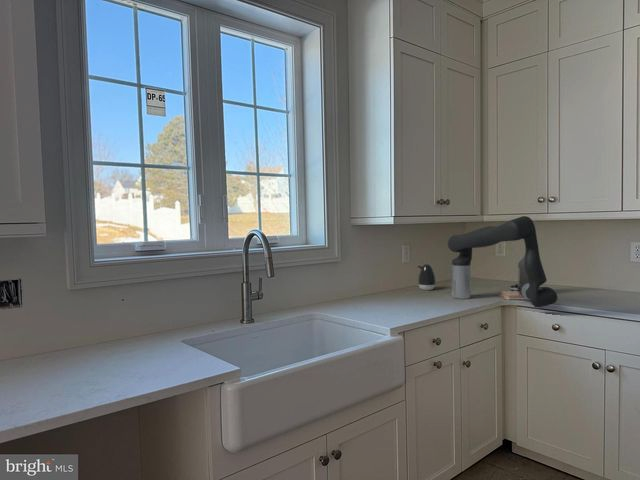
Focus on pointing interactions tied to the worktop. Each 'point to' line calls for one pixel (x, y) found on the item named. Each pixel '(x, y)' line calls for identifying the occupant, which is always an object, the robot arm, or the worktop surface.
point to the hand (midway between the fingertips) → (518, 285)
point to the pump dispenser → (426, 277)
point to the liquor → (522, 271)
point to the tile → (512, 295)
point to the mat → (510, 299)
